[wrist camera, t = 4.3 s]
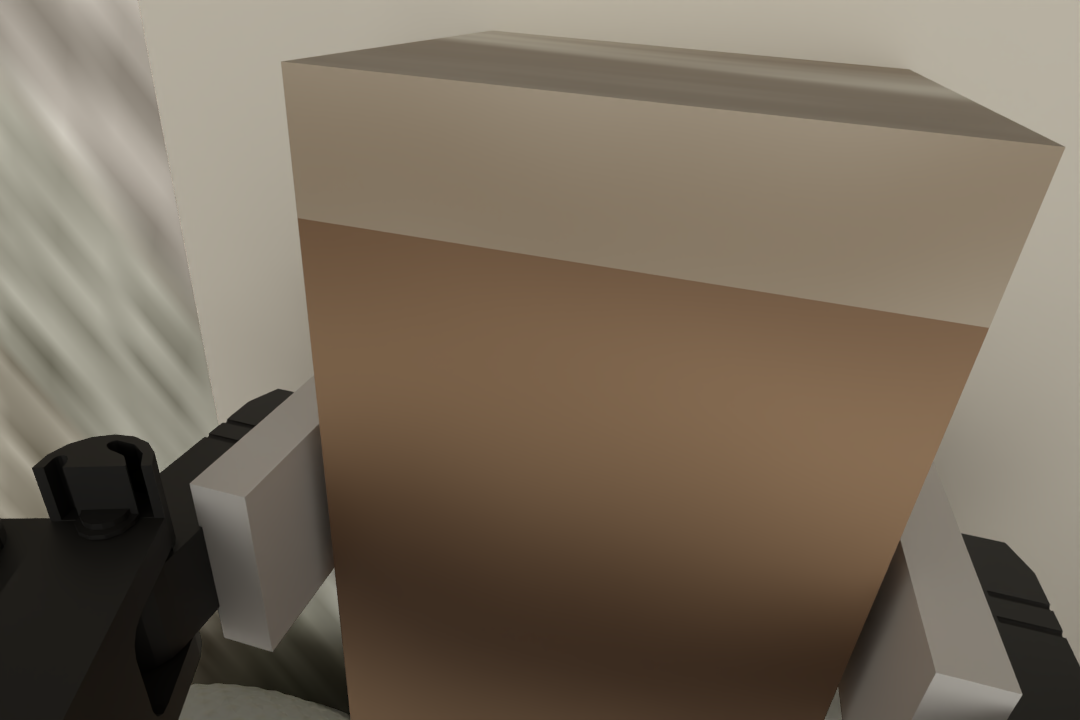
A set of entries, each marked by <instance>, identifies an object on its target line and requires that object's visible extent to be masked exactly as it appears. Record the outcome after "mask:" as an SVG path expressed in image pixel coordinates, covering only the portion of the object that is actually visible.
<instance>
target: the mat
mask: <svg viewBox="0 0 1080 720" xmlns="http://www.w3.org/2000/svg"><path fill="white" fill-rule="evenodd" d="M138 5H139V10H140V15H141V20H142V26H143V31H144V36H145V41H146V47H147V52H148V57H149V62H150V68H151V73H152V78H153V83H154V89H155V94H156V99H157V104H158V110H159V115H160V120H161V125H162V131H163V136H164V141H165V146H166V152H167V157H168V162H169V167H170V173H171V178H172V183H173V188H174V194H175V199H176V204H177V209H178V215H179V220H180V225H181V230H182V235H183V241H184V246H185V251H186V256H187V262H188V267H189V272H190V277H191V283H192V288H193V293H194V298H195V304H196V309H197V314H198V319H199V325H200V330H201V335H202V340H203V346H204V351H205V356H206V361H207V367H208V372H209V377H210V382H211V388H212V393H213V398H214V403H215V409H216V414H217V419H218V424H219V425H220V424H221V423H226V422H227V419H228V418H229V417H230V416H231V415H232V414H234V413H235V412H236V411H237V410H239V409H240V408H241V407H242V406H244V405H245V404H246V403H247V402H249V401H251V400H253V399H255V398H258V397H260V396H262V395H264V394H267V393H269V392H271V391H274V390H276V389H282V390H287V391H292V392H295V391H296V390H298V389H299V388H300V387H301V386H302V385H303V384H304V383H306V382H307V381H308V380H309V379H310V378H311V377H312V376H314V369H313V360H312V351H311V341H310V332H309V322H308V313H307V303H306V294H305V285H304V275H303V266H302V256H301V247H300V237H299V228H298V219H297V209H296V200H295V190H294V181H293V171H292V162H291V153H290V143H289V134H288V124H287V115H286V106H285V96H284V87H283V77H282V68H281V61H287V60H294V59H301V58H308V57H315V56H322V55H328V54H335V53H342V52H349V51H356V50H362V49H369V48H376V47H383V46H390V45H397V44H403V43H410V42H417V41H424V40H431V39H437V38H444V37H451V36H458V35H465V34H472V33H478V32H485V31H502V32H513V33H523V34H534V35H545V36H556V37H566V38H577V39H588V40H599V41H610V42H620V43H631V44H642V45H653V46H664V47H674V48H685V49H696V50H707V51H718V52H728V53H739V54H750V55H761V56H771V57H782V58H793V59H804V60H815V61H825V62H836V63H847V64H858V65H869V66H879V67H890V68H901V69H910V70H912V71H914V72H916V73H918V74H920V75H922V76H924V77H926V78H928V79H930V80H932V81H934V82H936V83H938V84H940V85H942V86H944V87H946V88H948V89H950V90H952V91H954V92H956V93H958V94H960V95H962V96H964V97H966V98H968V99H970V100H972V101H974V102H976V103H978V104H980V105H982V106H984V107H986V108H988V109H990V110H992V111H994V112H996V113H998V114H1000V115H1002V116H1004V117H1006V118H1008V119H1010V120H1012V121H1014V122H1016V123H1018V124H1020V125H1022V126H1024V127H1026V128H1028V129H1030V130H1032V131H1034V132H1036V133H1038V134H1040V135H1042V136H1044V137H1046V138H1048V139H1050V140H1052V141H1054V142H1056V143H1058V144H1060V145H1063V146H1065V150H1064V152H1063V154H1062V157H1061V159H1060V162H1059V164H1058V166H1057V169H1056V171H1055V173H1054V176H1053V178H1052V180H1051V183H1050V185H1049V188H1048V190H1047V192H1046V195H1045V197H1044V199H1043V202H1042V204H1041V207H1040V209H1039V211H1038V214H1037V216H1036V218H1035V221H1034V223H1033V226H1032V228H1031V230H1030V233H1029V235H1028V237H1027V240H1026V242H1025V244H1024V247H1023V249H1022V252H1021V254H1020V256H1019V259H1018V261H1017V263H1016V266H1015V268H1014V271H1013V273H1012V275H1011V278H1010V280H1009V282H1008V285H1007V287H1006V290H1005V292H1004V294H1003V297H1002V299H1001V301H1000V304H999V306H998V308H997V311H996V313H995V316H994V318H993V320H992V323H991V325H990V327H989V330H988V332H987V335H986V337H985V339H984V342H983V344H982V346H981V349H980V351H979V354H978V356H977V358H976V361H975V363H974V365H973V368H972V370H971V372H970V375H969V377H968V380H967V382H966V384H965V387H964V389H963V391H962V394H961V396H960V399H959V401H958V403H957V406H956V408H955V410H954V413H953V415H952V418H951V420H950V422H949V425H948V427H947V429H946V432H945V434H944V436H943V439H942V441H941V444H940V446H939V448H938V451H937V453H936V455H935V458H934V460H933V461H934V464H935V467H936V469H937V472H938V475H939V477H940V480H941V482H942V485H943V488H944V490H945V493H946V495H947V498H948V501H949V503H950V506H951V509H952V511H953V514H954V516H955V519H956V522H957V524H958V527H959V530H960V532H961V533H963V534H967V535H972V536H977V537H981V538H986V539H991V540H995V541H1000V542H1005V543H1006V544H1007V545H1008V546H1009V547H1010V548H1011V549H1012V550H1013V551H1014V552H1015V553H1016V554H1017V555H1018V556H1019V557H1020V558H1021V559H1022V560H1023V561H1024V562H1025V563H1026V564H1027V565H1028V566H1029V567H1030V568H1031V570H1032V571H1033V572H1034V573H1035V574H1036V576H1037V578H1038V580H1039V583H1040V585H1041V587H1042V589H1043V591H1044V593H1045V595H1046V597H1047V599H1048V601H1049V603H1050V608H1049V609H1050V610H1051V611H1054V614H1055V616H1056V618H1057V620H1058V622H1059V624H1060V626H1061V628H1062V630H1063V633H1062V636H1063V637H1064V638H1067V640H1068V643H1069V645H1070V647H1071V649H1072V651H1073V653H1074V655H1075V657H1076V659H1077V661H1078V663H1079V665H1080V0H138Z"/></svg>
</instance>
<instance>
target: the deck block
mask: <svg viewBox="0 0 1080 720" xmlns="http://www.w3.org/2000/svg"><path fill="white" fill-rule="evenodd" d="M281 68H282V77H283V87H284V96H285V106H286V115H287V124H288V134H289V143H290V153H291V162H292V171H293V181H294V190H295V200H296V209H297V219H298V228H299V237H300V247H301V256H302V266H303V275H304V285H305V294H306V303H307V313H308V322H309V332H310V341H311V351H312V360H313V369H314V379H315V388H316V398H317V407H318V417H319V426H320V435H321V445H322V454H323V464H324V473H325V483H326V492H327V501H328V511H329V520H330V530H331V539H332V549H333V558H334V567H335V577H336V586H337V596H338V605H339V615H340V624H341V633H342V643H343V652H344V662H345V671H346V681H347V690H348V699H349V709H350V718H351V720H824V719H825V716H826V714H827V711H828V709H829V707H830V704H831V702H832V700H833V697H834V695H835V692H836V690H837V688H838V685H839V683H840V681H841V678H842V676H843V673H844V671H845V669H846V666H847V664H848V662H849V659H850V657H851V655H852V652H853V650H854V647H855V645H856V643H857V640H858V638H859V636H860V633H861V631H862V628H863V626H864V624H865V621H866V619H867V617H868V614H869V612H870V609H871V607H872V605H873V602H874V600H875V598H876V595H877V593H878V591H879V588H880V586H881V583H882V581H883V579H884V576H885V574H886V572H887V569H888V567H889V564H890V562H891V560H892V557H893V555H894V553H895V550H896V548H897V545H898V543H899V541H900V538H901V536H902V534H903V531H904V529H905V527H906V524H907V522H908V519H909V517H910V515H911V512H912V510H913V508H914V505H915V503H916V500H917V498H918V496H919V493H920V491H921V489H922V486H923V484H924V481H925V479H926V477H927V474H928V472H929V470H930V467H931V465H932V463H933V460H934V458H935V455H936V453H937V451H938V448H939V446H940V444H941V441H942V439H943V436H944V434H945V432H946V429H947V427H948V425H949V422H950V420H951V418H952V415H953V413H954V410H955V408H956V406H957V403H958V401H959V399H960V396H961V394H962V391H963V389H964V387H965V384H966V382H967V380H968V377H969V375H970V372H971V370H972V368H973V365H974V363H975V361H976V358H977V356H978V354H979V351H980V349H981V346H982V344H983V342H984V339H985V337H986V335H987V332H988V330H989V327H990V325H991V323H992V320H993V318H994V316H995V313H996V311H997V308H998V306H999V304H1000V301H1001V299H1002V297H1003V294H1004V292H1005V290H1006V287H1007V285H1008V282H1009V280H1010V278H1011V275H1012V273H1013V271H1014V268H1015V266H1016V263H1017V261H1018V259H1019V256H1020V254H1021V252H1022V249H1023V247H1024V244H1025V242H1026V240H1027V237H1028V235H1029V233H1030V230H1031V228H1032V226H1033V223H1034V221H1035V218H1036V216H1037V214H1038V211H1039V209H1040V207H1041V204H1042V202H1043V199H1044V197H1045V195H1046V192H1047V190H1048V188H1049V185H1050V183H1051V180H1052V178H1053V176H1054V173H1055V171H1056V169H1057V166H1058V164H1059V162H1060V159H1061V157H1062V154H1063V152H1064V150H1065V146H1063V145H1060V144H1058V143H1056V142H1054V141H1052V140H1050V139H1048V138H1046V137H1044V136H1042V135H1040V134H1038V133H1036V132H1034V131H1032V130H1030V129H1028V128H1026V127H1024V126H1022V125H1020V124H1018V123H1016V122H1014V121H1012V120H1010V119H1008V118H1006V117H1004V116H1002V115H1000V114H998V113H996V112H994V111H992V110H990V109H988V108H986V107H984V106H982V105H980V104H978V103H976V102H974V101H972V100H970V99H968V98H966V97H964V96H962V95H960V94H958V93H956V92H954V91H952V90H950V89H948V88H946V87H944V86H942V85H940V84H938V83H936V82H934V81H932V80H930V79H928V78H926V77H924V76H922V75H920V74H918V73H916V72H914V71H912V70H910V69H901V68H890V67H879V66H869V65H858V64H847V63H836V62H825V61H815V60H804V59H793V58H782V57H771V56H761V55H750V54H739V53H728V52H718V51H707V50H696V49H685V48H674V47H664V46H653V45H642V44H631V43H620V42H610V41H599V40H588V39H577V38H566V37H556V36H545V35H534V34H523V33H513V32H502V31H485V32H478V33H472V34H465V35H458V36H451V37H444V38H437V39H431V40H424V41H417V42H410V43H403V44H397V45H390V46H383V47H376V48H369V49H362V50H356V51H349V52H342V53H335V54H328V55H322V56H315V57H308V58H301V59H294V60H287V61H281Z"/></svg>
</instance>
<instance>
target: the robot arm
mask: <svg viewBox="0 0 1080 720" xmlns="http://www.w3.org/2000/svg"><path fill="white" fill-rule="evenodd" d="M32 470H33V472H34V475H35V478H36V481H37V483H38V486H39V489H40V492H41V494H42V497H43V500H44V503H45V506H46V508H47V511H48V514H49V517H50V518H32V519H0V720H179V717H180V714H181V711H182V708H183V705H184V702H185V700H186V697H187V694H188V691H189V688H190V685H191V683H192V680H193V677H194V674H195V671H196V668H197V665H198V663H199V660H200V657H201V647H202V641H201V637H200V633H199V630H200V629H201V627H202V626H203V625H204V624H205V623H206V622H207V621H208V619H209V618H210V617H211V616H212V615H213V614H214V613H215V611H216V610H217V609H218V612H219V616H220V621H221V625H222V629H223V634H224V638H227V639H231V640H234V641H237V642H241V643H244V644H247V645H251V646H254V647H257V648H261V649H264V650H267V651H271V652H273V651H274V649H275V648H276V647H277V645H278V644H279V642H280V641H281V640H282V638H283V637H284V636H285V634H286V633H287V631H288V630H289V629H290V627H291V626H292V625H293V623H294V622H295V621H296V619H297V618H298V616H299V615H300V614H301V612H302V611H303V610H304V608H305V607H306V605H307V604H308V603H309V601H310V600H311V599H312V597H313V596H314V594H315V593H316V592H317V590H318V589H319V588H320V586H321V585H322V584H323V582H324V581H325V579H326V578H327V577H328V575H329V574H330V573H331V571H332V570H333V568H334V558H333V549H332V539H331V530H330V520H329V511H328V501H327V492H326V483H325V473H324V464H323V454H322V445H321V435H320V426H319V417H318V407H317V398H316V388H315V379H314V376H312V377H311V378H310V379H309V380H308V381H307V382H306V383H304V384H303V385H302V386H301V387H300V388H299V389H298V390H296V391H295V392H292V391H287V390H282V389H276V390H274V391H271V392H269V393H267V394H264V395H262V396H260V397H258V398H255V399H253V400H251V401H249V402H247V403H246V404H245V405H244V406H242V407H241V408H240V409H239V410H237V411H236V412H235V413H234V414H232V415H231V416H230V417H229V418H228V419H227V422H226V423H221V424H220V425H219V426H218V427H216V428H215V429H214V430H213V431H211V432H210V433H209V437H208V438H207V437H204V438H203V439H202V440H200V441H199V442H198V443H197V444H195V445H194V446H193V447H192V448H190V449H189V450H188V451H187V452H186V453H184V454H183V455H182V456H181V457H179V458H178V459H177V460H176V461H174V462H173V463H172V464H171V465H169V466H168V467H167V468H166V469H165V470H163V471H162V472H161V473H159V469H158V465H157V461H156V457H155V453H154V451H153V450H152V448H151V446H150V445H149V443H148V442H146V441H143V440H141V439H139V438H137V437H134V436H124V435H107V436H98V437H91V438H87V439H84V440H81V441H77V442H74V443H71V444H68V445H66V446H64V447H62V448H60V449H58V450H56V451H54V452H52V453H50V454H48V455H46V456H45V457H44V458H43V459H42V460H41V461H39V462H38V463H37V464H36V465H35V466H34V467H33V468H32ZM1049 608H1050V603H1049V601H1048V599H1047V597H1046V595H1045V593H1044V591H1043V589H1042V587H1041V585H1040V583H1039V580H1038V578H1037V576H1036V574H1035V573H1034V572H1033V571H1032V570H1031V568H1030V567H1029V566H1028V565H1027V564H1026V563H1025V562H1024V561H1023V560H1022V559H1021V558H1020V557H1019V556H1018V555H1017V554H1016V553H1015V552H1014V551H1013V550H1012V549H1011V548H1010V547H1009V546H1008V545H1007V544H1006V543H1005V542H1000V541H995V540H991V539H986V538H981V537H977V536H972V535H967V534H963V533H961V532H960V530H959V527H958V524H957V522H956V519H955V516H954V514H953V511H952V509H951V506H950V503H949V501H948V498H947V495H946V493H945V490H944V488H943V485H942V482H941V480H940V477H939V475H938V472H937V469H936V467H935V464H934V461H933V463H932V465H931V467H930V470H929V472H928V474H927V477H926V479H925V481H924V484H923V486H922V489H921V491H920V493H919V496H918V498H917V500H916V503H915V505H914V508H913V510H912V512H911V515H910V517H909V519H908V522H907V524H906V527H905V529H904V531H903V534H902V536H901V538H900V541H899V543H898V545H897V548H896V550H895V553H894V555H893V557H892V560H891V562H890V564H889V567H888V569H887V572H886V574H885V576H884V579H883V581H882V583H881V586H880V588H879V591H878V593H877V595H876V598H875V600H874V602H873V605H872V607H871V609H870V612H869V614H868V617H867V619H866V621H865V624H864V626H863V628H862V631H861V633H860V636H859V638H858V640H857V643H856V645H855V647H854V650H853V652H852V655H851V657H850V659H849V662H848V664H847V666H846V669H845V671H844V673H843V676H842V678H841V681H840V683H839V685H838V688H839V696H840V704H841V712H842V720H1080V665H1079V663H1078V661H1077V659H1076V657H1075V655H1074V653H1073V651H1072V649H1071V647H1070V645H1069V643H1068V640H1067V638H1064V637H1063V636H1062V633H1063V630H1062V628H1061V626H1060V624H1059V622H1058V620H1057V618H1056V616H1055V614H1054V611H1051V610H1050V609H1049Z"/></svg>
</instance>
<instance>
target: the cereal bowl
mask: <svg viewBox="0 0 1080 720" xmlns="http://www.w3.org/2000/svg"><path fill="white" fill-rule="evenodd" d="M179 720H351V718H350V715H348V714H346V713H344V712H342V711H340V710H337V709H334V708H331V707H328V706H325V705H322V704H319V703H314V702H311V701H305V700H303V699H300V698H298V697H294V696H292V695H285V694H283V693H281V692H278V691H273V690H265V689H261V688H258V687H249V686H241V685H237V684H221V683H215V684H210V685H205V684H197V683H196V684H193V685H190V688H189V691H188V694H187V697H186V700H185V702H184V705H183V708H182V711H181V714H180V717H179Z"/></svg>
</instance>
